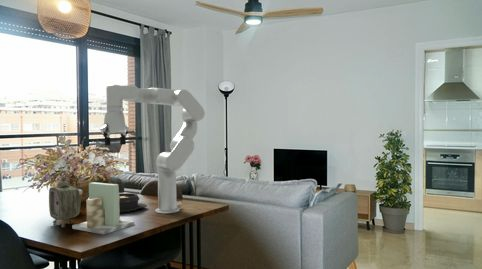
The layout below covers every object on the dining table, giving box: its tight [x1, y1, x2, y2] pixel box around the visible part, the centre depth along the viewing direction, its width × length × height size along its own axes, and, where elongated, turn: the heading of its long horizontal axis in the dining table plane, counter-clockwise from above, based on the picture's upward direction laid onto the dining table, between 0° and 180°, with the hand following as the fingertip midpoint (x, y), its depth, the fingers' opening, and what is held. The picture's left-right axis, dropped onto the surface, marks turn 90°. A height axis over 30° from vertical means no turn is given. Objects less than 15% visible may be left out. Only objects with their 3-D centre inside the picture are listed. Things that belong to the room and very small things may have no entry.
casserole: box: [119, 192, 148, 214], centre depth 208 cm, size 25×19×8 cm
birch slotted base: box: [71, 198, 136, 235], centre depth 176 cm, size 18×20×14 cm
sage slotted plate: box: [88, 182, 120, 226], centre depth 176 cm, size 3×16×18 cm, turn 60°
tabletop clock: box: [48, 170, 81, 229], centre depth 180 cm, size 14×9×25 cm, turn 45°
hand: (115, 145), depth 191 cm, fingers open, 9 cm apart
